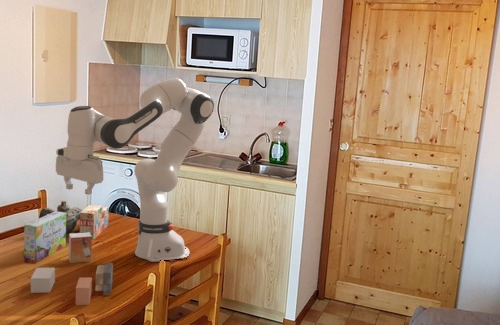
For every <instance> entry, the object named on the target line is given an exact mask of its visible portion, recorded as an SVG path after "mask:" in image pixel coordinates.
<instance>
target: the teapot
mask: <svg viewBox="0 0 500 325" xmlns="http://www.w3.org/2000/svg"><path fill="white" fill-rule="evenodd" d="M60 202H61V203H60V204H59V205H57V207H56V210H55V209H52V208H50V207H43V208H42V209H41V210H40V212H39V215H38V216H39V217H38V219H39V218H41V217H44V216H46V215H48V214H51V213H53V212H55V211H57V212H64V213H66V235H67V234H71V233H73V232H72V231H73V230H75V228H76V227H77V224H78V221H80V212H81V211H83V209H81V208H80V207H77V206H74V207H72V208H71V207H70V206H69V205H68V204H67V201H66V200H61V201H60Z"/></svg>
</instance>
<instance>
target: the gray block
mask: <svg viewBox="0 0 500 325" xmlns="http://www.w3.org/2000/svg"><path fill="white" fill-rule="evenodd" d="M55 282H56V268H55V267H36V268H35V270H34V272H33V273H32V275H31V277H30V293H31V294H33V293H38V294H39V293H43V294H44V293H51V290H52V289H53V286H54V284H55Z"/></svg>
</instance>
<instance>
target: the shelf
mask: <svg viewBox="0 0 500 325" xmlns="http://www.w3.org/2000/svg"><path fill="white" fill-rule="evenodd" d="M113 268H114V262H113V263H112V262H109V263H108V262H107V263H105V264H97V267H96V272H95V287H94V288H95V292H102V295H101V296H111V294H112V288H113V279H114V278H113V277H114V276H113V274H114V273H113V272H114V269H113Z"/></svg>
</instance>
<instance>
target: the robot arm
mask: <svg viewBox="0 0 500 325" xmlns="http://www.w3.org/2000/svg"><path fill="white" fill-rule="evenodd" d="M139 104H140V107H141V108H139V109H138V110H137V111H134V113H132V114H130V115H128V116H127V117H125V118H115V117H114V118H113V117H111V116H107V115H105V114H103V113H100V112H99V111H97V110H96V109H94V107H93V106H89V105H82V106H81V105H80V106H74V107H73V108H72V109H70V111H69V112H68V113H69V114H68V120H67V129H66V130H67V136H68V139H67V142H66V146H65V147H61V148H57V149H55V150H56V155H57V156H56V158H55V173H56V174H57V175H58V176H62V177H63V180H64V182H65V188H66V189H67V190H72V189H73V187H74V184H73V183H72V179H73V180H78V181H82V182H86V184H87V187H86V188H84V194H85V195H92V194H93V189H94V187H95V185H97V184H102V183H103V181H104V167H103V161H102V159H101V158H100V157H99V156H97V155H94V149H95V142H98V143H101V144H102V145H106V146H108V147H109V148H111V149H122V148H124V147H126V146H127V145H128V144H129V143H130V142H131V141H132V139H133V138H134V137H135V135H137V134H138V133H140V132H141V131H142V130H144V129H145V128H146V127H148V126H149V125H151V124H152V123H153V122H155V121H156V120H158V119H159V118H160V117H161V116H162V115H164V114H166V113H167V112H169V111H170V110H172V109H173V110H174V111H177V112H178V113H180V118H179V121H178V122H177V123H176V124H175V125H174V126H173V127H172V128H171V130H170V131H169V132H168V134H167V135H166V137H165V138H164V140H163V141H162V142H161V144H160V152H159V153H158V156H157V158H156V160H155V159H153V158H152V159H151V158H143V159H141V160H139V161H138V162H137V163H136V164H135V166H134V171H133V172H134V175H135V177H136V178H135V179H136V182H137V189H138V193H139V202H140V203H139V204H140V207H139V208H140V209H139V220H138V228H137V229H138V230H137V231H138V232H137V233H138V239H137V244H136V249H135V251H134V254H135V256H137V258H140V259H144V260H147V261H148V262H152V263H155V262H161V261H160V260H170V261H172V260H171V259H179V258H184V257H187V256H189V254H190V249H189V247H187V246H185V241H184V238H183V237H182V236H181V235H180V234H179V233H177V232H176V231H175V230H174V225H173V222H172V221H171V220H168V209H169V207H168V206H169V203H168V200H167V197H166V193H170V192H171V191H173V190H174V189H175V188H176V186H177V184H178V180H179V179H178V178H179V177H178V175H179V171H180V168H181V166H182V165H183V162H184V160H185V158H186V157H187V156H188V154H189V152H190V151H191V150H192V148H193V147H194V146H195V145H196V143H197V142H198V140H199V138H200V136H201V134H202V132H203V130H204V128H205V122H206V121H208V119H209V118H210V117H212V116H211V115H212V114H213V112H214V108H215V102H214V100H213V99H212V98H211V96H209V95H208V94H207V93H203V92H201V91H199V90H198V89H195V88H191V87H187V85H186V83H185V82H184V81H183V80H182V79H180V78H179V77H178V78H177V77H171V78H168V79H166V80H162V81H160V82H158V83H156V84H154V85H152V86H150V87H148V88H147V89H145V90H144V91H143V92H142V93H141V95H140V97H139ZM185 248H186V249H185ZM189 257H190V256H189Z"/></svg>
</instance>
